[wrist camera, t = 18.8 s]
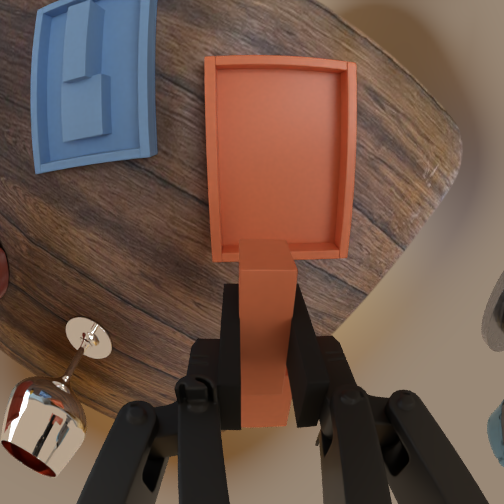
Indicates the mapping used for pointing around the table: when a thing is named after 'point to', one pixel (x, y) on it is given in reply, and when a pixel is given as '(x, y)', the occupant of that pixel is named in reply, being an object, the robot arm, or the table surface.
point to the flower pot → (3, 273)
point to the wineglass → (52, 407)
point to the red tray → (280, 153)
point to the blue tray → (113, 64)
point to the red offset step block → (265, 330)
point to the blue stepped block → (84, 75)
